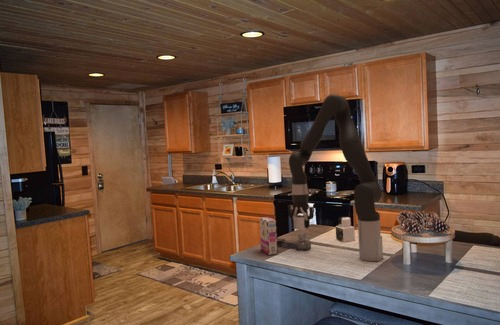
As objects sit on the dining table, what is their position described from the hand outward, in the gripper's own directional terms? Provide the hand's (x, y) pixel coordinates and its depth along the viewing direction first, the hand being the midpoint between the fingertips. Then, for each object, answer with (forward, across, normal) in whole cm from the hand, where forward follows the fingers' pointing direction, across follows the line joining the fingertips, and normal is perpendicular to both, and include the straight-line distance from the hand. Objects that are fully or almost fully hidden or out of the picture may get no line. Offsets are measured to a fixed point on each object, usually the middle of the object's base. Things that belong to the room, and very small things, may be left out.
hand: (301, 226), depth 188 cm
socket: (+1, 0, 0) cm, 1 cm away
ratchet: (+11, +7, 0) cm, 13 cm away
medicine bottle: (+11, -13, -23) cm, 29 cm away
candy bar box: (+11, +12, +12) cm, 20 cm away
